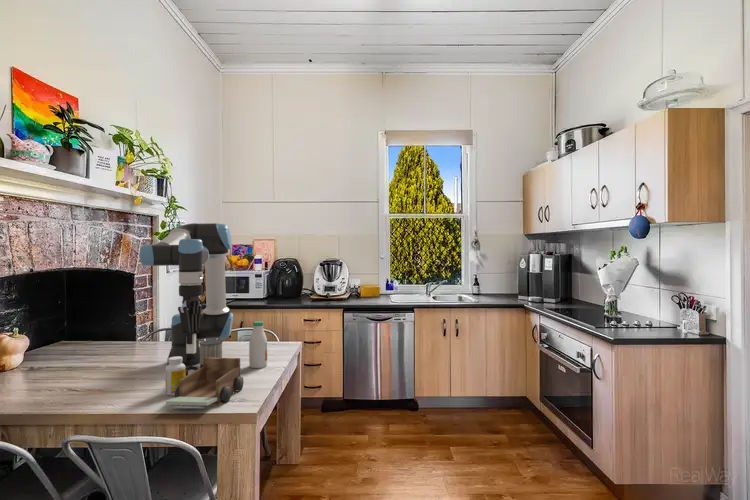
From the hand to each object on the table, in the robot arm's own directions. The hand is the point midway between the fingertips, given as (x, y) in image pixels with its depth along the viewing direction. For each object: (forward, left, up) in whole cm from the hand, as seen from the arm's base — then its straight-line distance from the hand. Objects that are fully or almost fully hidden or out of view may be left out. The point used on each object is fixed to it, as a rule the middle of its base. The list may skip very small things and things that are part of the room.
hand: (191, 352), depth 143 cm
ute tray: (+4, +8, -17) cm, 19 cm away
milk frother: (-10, +27, -17) cm, 34 cm away
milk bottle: (+8, +45, -17) cm, 48 cm away
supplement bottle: (-10, +9, -17) cm, 22 cm away
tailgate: (+4, -2, -15) cm, 15 cm away
